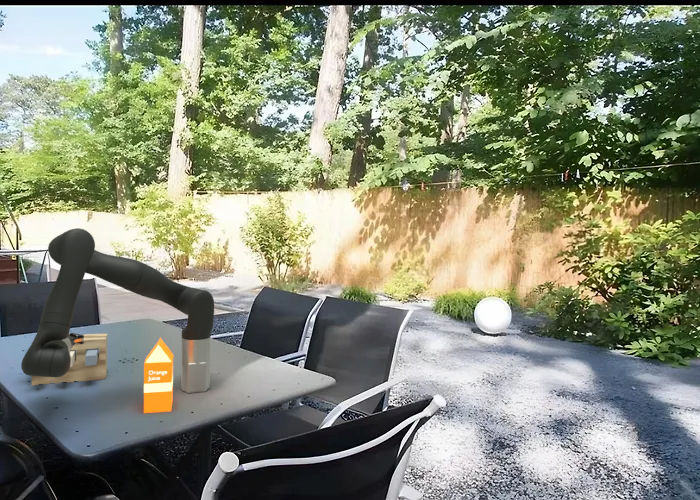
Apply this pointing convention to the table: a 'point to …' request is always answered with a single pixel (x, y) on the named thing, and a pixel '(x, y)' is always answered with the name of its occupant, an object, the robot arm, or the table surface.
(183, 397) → the table surface
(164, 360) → the orange juice
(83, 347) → the key box
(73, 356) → the white key
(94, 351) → the blue key
